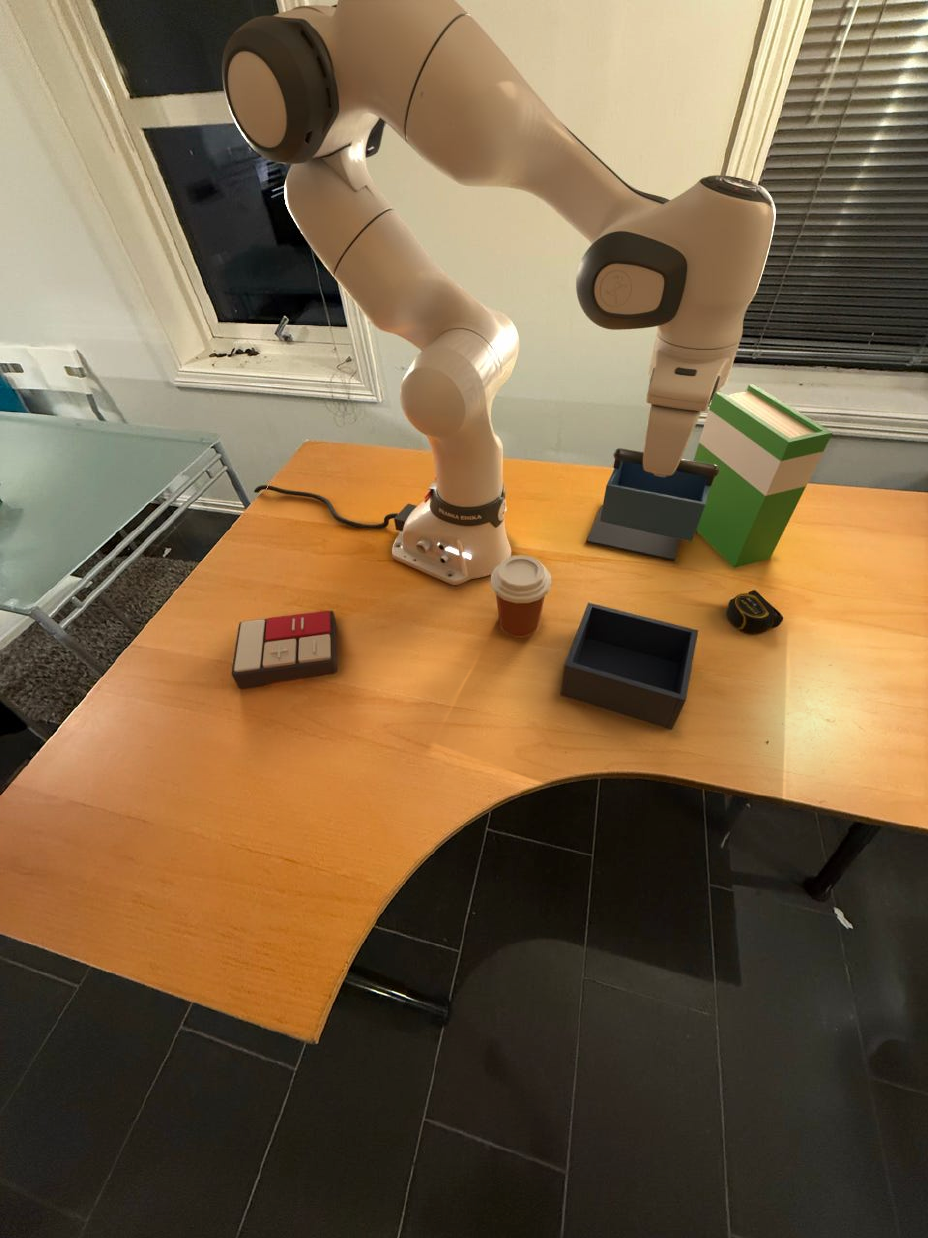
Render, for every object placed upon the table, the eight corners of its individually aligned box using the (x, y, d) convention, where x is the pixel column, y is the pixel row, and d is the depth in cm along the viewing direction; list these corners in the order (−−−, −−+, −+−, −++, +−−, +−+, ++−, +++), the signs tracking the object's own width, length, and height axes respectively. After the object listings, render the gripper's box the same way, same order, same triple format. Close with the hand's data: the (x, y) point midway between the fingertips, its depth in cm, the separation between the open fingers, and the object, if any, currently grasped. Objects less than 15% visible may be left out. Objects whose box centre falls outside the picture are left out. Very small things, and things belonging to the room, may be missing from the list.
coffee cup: (497, 649, 82) (497, 595, 74) (486, 608, 89) (484, 554, 80) (553, 640, 83) (560, 586, 74) (538, 600, 89) (543, 545, 80)
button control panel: (333, 658, 78) (229, 672, 76) (338, 675, 81) (238, 689, 80) (332, 606, 86) (237, 618, 84) (337, 624, 89) (245, 636, 87)
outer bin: (559, 697, 76) (564, 665, 70) (582, 635, 84) (588, 602, 78) (671, 732, 71) (685, 700, 66) (684, 663, 79) (698, 630, 73)
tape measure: (779, 631, 82) (789, 615, 79) (741, 642, 81) (750, 626, 78) (750, 602, 87) (758, 585, 84) (714, 612, 85) (721, 596, 83)
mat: (586, 542, 99) (586, 540, 98) (601, 507, 106) (601, 504, 106) (674, 562, 94) (675, 559, 94) (683, 523, 101) (684, 520, 101)
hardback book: (678, 511, 104) (714, 391, 86) (711, 504, 105) (753, 383, 87) (733, 568, 92) (788, 442, 74) (770, 558, 93) (832, 432, 76)
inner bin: (596, 520, 75) (606, 465, 68) (612, 485, 80) (622, 431, 74) (696, 542, 70) (716, 486, 64) (705, 503, 76) (725, 448, 70)
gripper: (677, 326, 67) (653, 428, 77) (645, 395, 55) (621, 504, 65) (729, 331, 65) (698, 435, 75) (708, 404, 53) (674, 515, 63)
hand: (662, 468), depth 70 cm, fingers closed on inner bin
